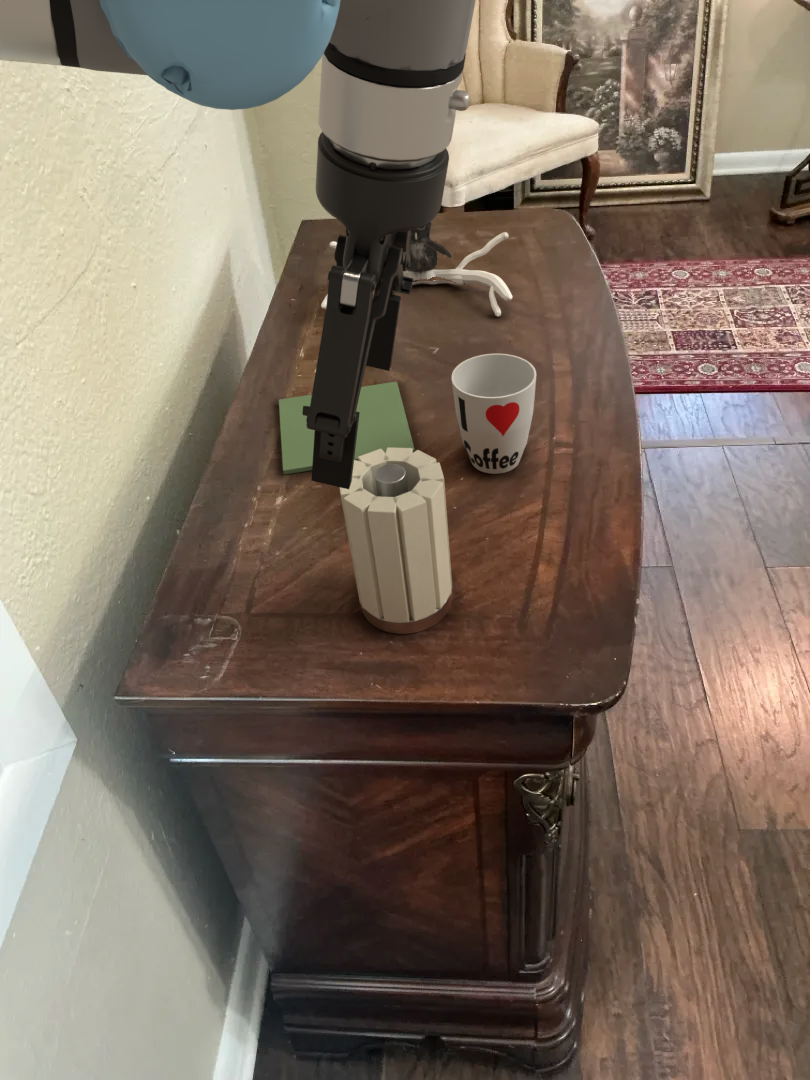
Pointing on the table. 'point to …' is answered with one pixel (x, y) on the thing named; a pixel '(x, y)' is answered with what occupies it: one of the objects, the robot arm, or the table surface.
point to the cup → (494, 409)
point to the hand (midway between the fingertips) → (354, 419)
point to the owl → (426, 260)
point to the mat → (376, 426)
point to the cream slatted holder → (399, 537)
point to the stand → (392, 485)
